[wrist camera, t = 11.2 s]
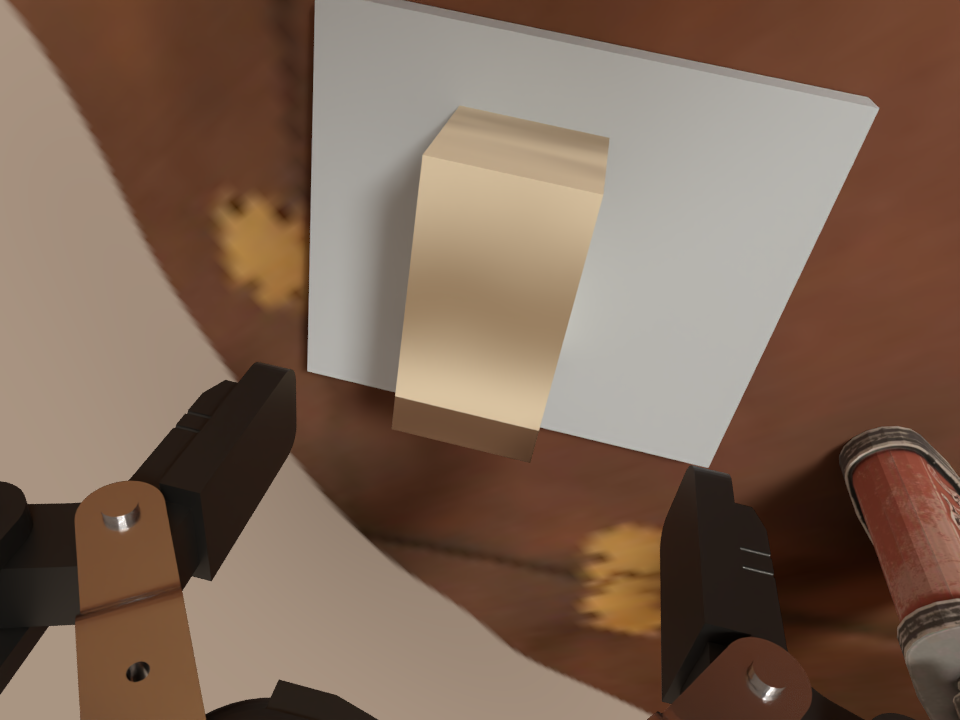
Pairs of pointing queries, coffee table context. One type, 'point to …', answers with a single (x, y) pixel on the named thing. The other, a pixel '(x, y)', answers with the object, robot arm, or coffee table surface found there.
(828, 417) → the coffee table surface
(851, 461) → the lighter
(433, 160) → the block
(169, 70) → the coffee table surface
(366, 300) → the mat
